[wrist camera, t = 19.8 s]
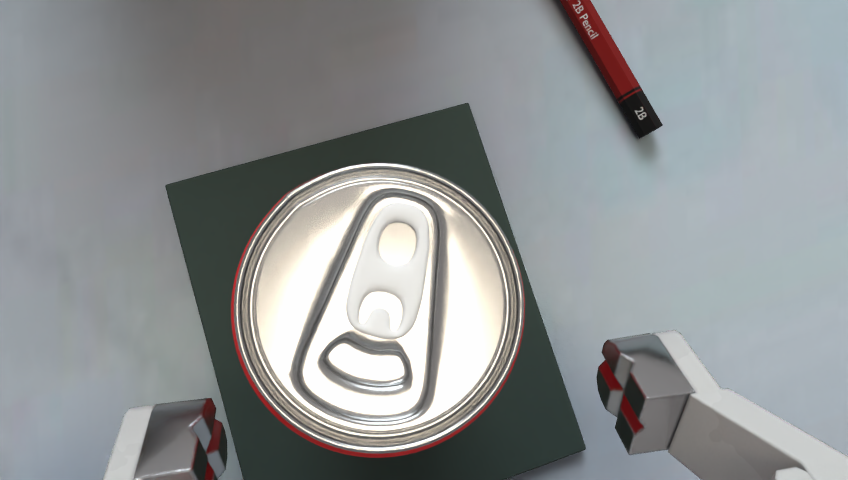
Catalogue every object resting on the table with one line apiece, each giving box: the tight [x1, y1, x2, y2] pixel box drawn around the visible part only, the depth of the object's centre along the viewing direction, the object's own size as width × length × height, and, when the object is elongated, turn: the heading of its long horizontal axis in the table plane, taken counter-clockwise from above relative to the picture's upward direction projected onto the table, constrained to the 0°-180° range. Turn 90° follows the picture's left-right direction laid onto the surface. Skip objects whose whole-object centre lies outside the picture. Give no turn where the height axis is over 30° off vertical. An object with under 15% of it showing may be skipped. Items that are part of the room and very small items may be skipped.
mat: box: [166, 103, 586, 480], centre depth 21 cm, size 12×14×1 cm
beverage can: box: [231, 162, 525, 458], centre depth 15 cm, size 5×5×12 cm
